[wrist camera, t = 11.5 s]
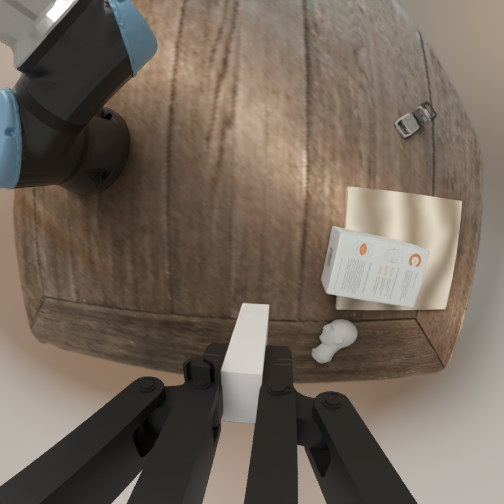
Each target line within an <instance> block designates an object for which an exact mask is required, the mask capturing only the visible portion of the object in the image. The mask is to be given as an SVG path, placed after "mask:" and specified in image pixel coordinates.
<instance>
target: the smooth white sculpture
mask: <svg viewBox="0 0 504 504" xmlns="http://www.w3.org/2000/svg"><path fill="white" fill-rule="evenodd" d="M357 334H358V333H357V329H356V327H355V326H354V325H353V324H352V323H351V322H350V321H348V320H344V319H339V320H334V321H333V322H331V323H330V324H327V325H325V326H324V327H323V331H322V334H321V335H320V337H319V338H320V340H321V342H322V343H321V344H320V345H319V346H318V347H316V348H313V349H312V353H311V354H312V356H313V358H314V359H315V360H316V361H318V362H319V363H325V362H329V361H331V359H332V357H333V355H334V354H335V353H336V352H337V351H338V350H339V349H341V348H344V347H347V346H349V345H351V344H352V343H353V342H354V341H355V340H356V338H357Z"/></svg>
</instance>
